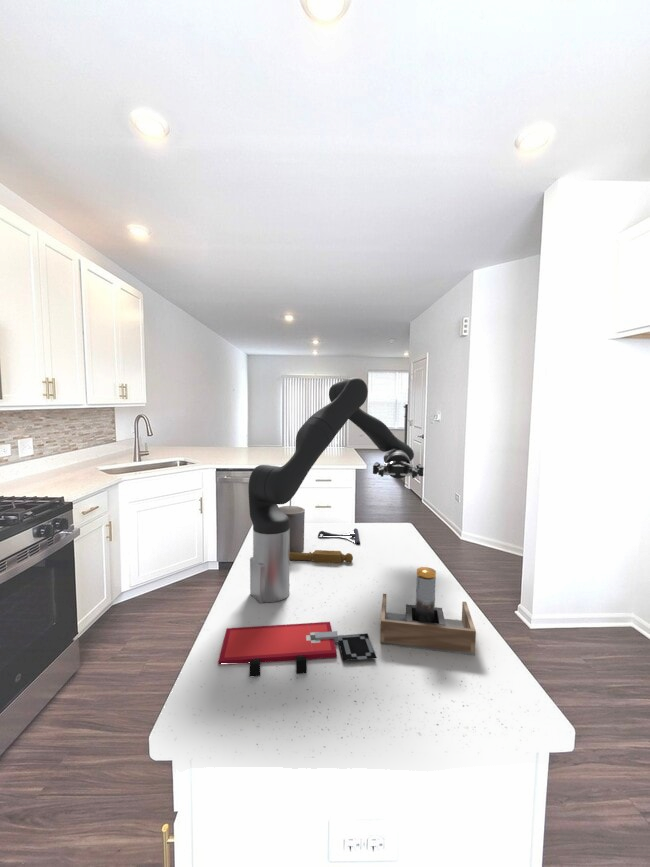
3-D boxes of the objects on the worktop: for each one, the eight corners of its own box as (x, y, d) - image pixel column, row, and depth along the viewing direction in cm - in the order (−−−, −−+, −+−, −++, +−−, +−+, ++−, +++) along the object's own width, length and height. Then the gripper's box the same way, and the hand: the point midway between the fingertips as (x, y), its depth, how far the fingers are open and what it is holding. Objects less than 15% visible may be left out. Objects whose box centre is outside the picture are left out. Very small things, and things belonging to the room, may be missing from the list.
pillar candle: (270, 553, 130) (270, 508, 129) (282, 542, 139) (282, 500, 138) (298, 557, 127) (298, 511, 126) (308, 546, 137) (309, 503, 135)
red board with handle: (379, 669, 75) (363, 625, 90) (379, 654, 75) (363, 613, 89) (215, 681, 72) (226, 634, 86) (214, 666, 71) (226, 622, 86)
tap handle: (258, 548, 127) (352, 551, 125) (258, 557, 127) (352, 560, 125) (256, 551, 124) (352, 555, 122) (256, 561, 124) (352, 564, 122)
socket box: (474, 655, 79) (475, 631, 79) (380, 643, 82) (380, 620, 82) (465, 622, 91) (466, 601, 90) (382, 613, 94) (383, 593, 94)
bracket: (319, 531, 153) (319, 524, 153) (357, 532, 153) (357, 525, 153) (317, 546, 139) (317, 538, 139) (360, 546, 139) (360, 538, 138)
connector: (425, 635, 85) (427, 576, 83) (411, 626, 88) (412, 569, 87) (437, 629, 87) (439, 572, 86) (423, 621, 90) (425, 565, 89)
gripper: (375, 451, 126) (371, 459, 110) (422, 453, 124) (425, 461, 108) (375, 475, 127) (371, 485, 111) (421, 477, 124) (424, 488, 108)
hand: (397, 473), depth 109 cm, fingers open, 8 cm apart
